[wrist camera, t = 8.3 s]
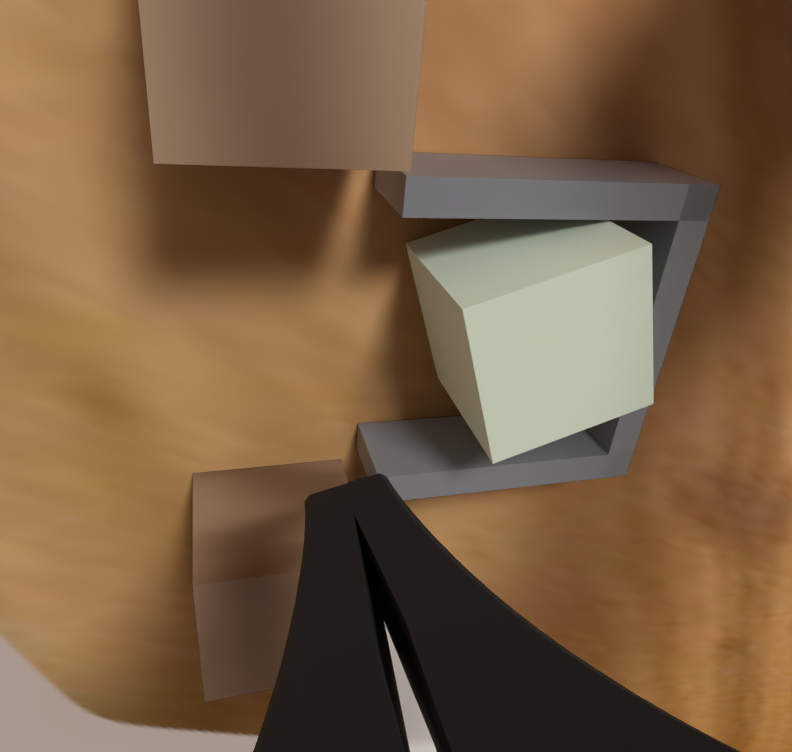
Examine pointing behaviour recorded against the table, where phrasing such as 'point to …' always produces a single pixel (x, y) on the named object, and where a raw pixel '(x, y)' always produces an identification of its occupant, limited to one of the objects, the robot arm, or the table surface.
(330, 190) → the table surface
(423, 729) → the white handled block
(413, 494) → the corral
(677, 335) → the table surface
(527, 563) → the table surface
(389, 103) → the walnut block
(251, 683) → the walnut block
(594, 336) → the sage block
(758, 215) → the table surface
